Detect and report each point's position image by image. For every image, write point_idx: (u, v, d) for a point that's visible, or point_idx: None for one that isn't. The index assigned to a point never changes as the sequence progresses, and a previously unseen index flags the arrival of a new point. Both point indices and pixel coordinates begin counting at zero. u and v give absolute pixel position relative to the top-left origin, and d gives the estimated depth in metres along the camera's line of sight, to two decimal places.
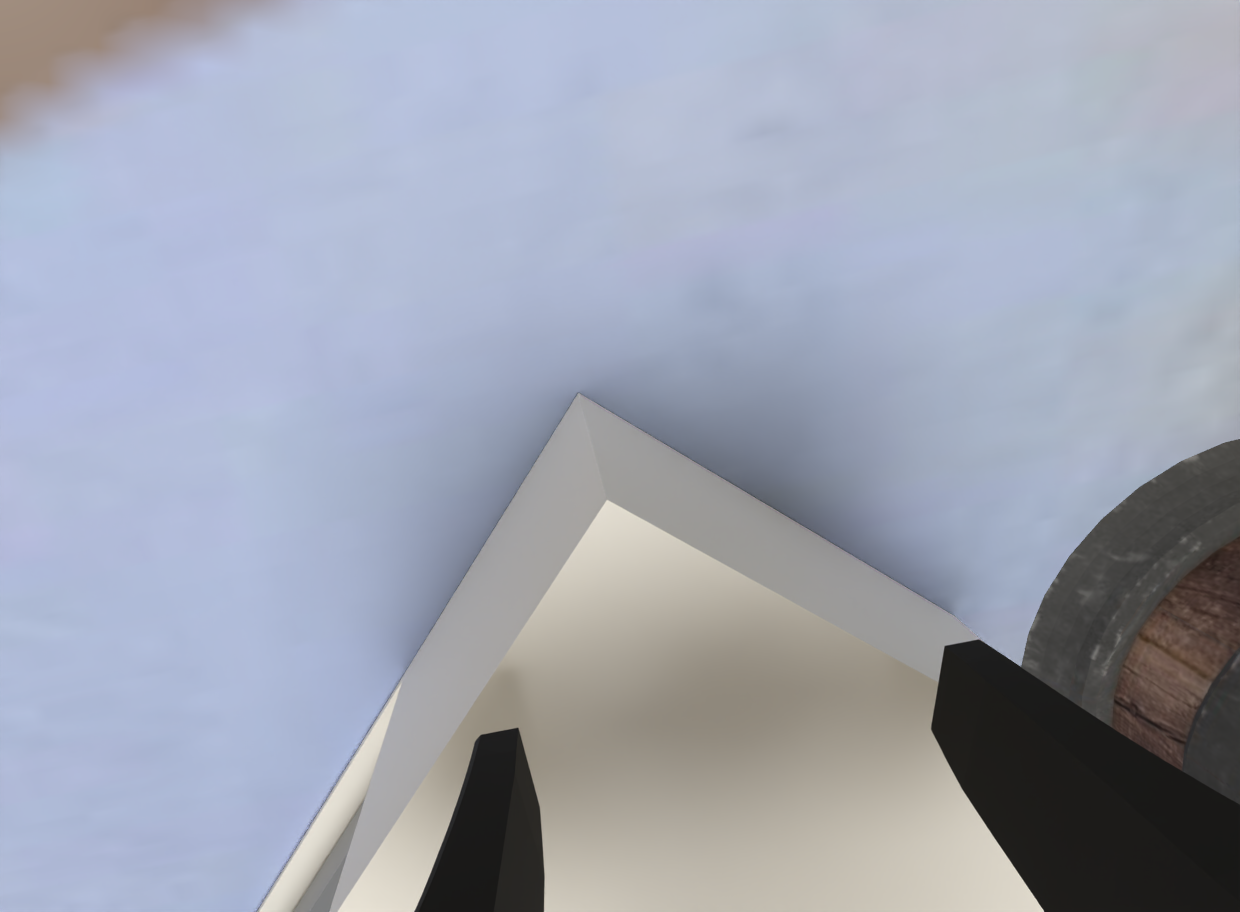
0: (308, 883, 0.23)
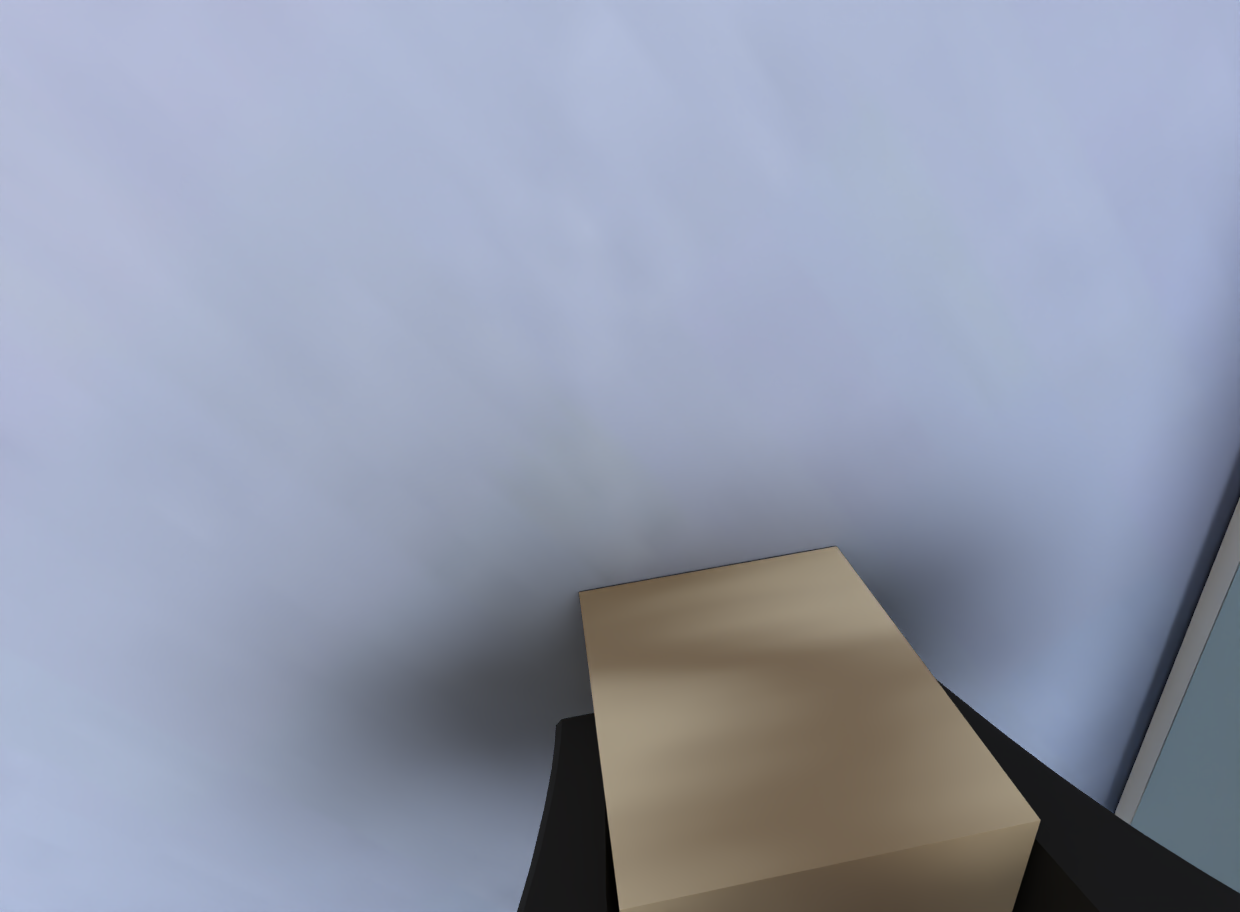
0: None
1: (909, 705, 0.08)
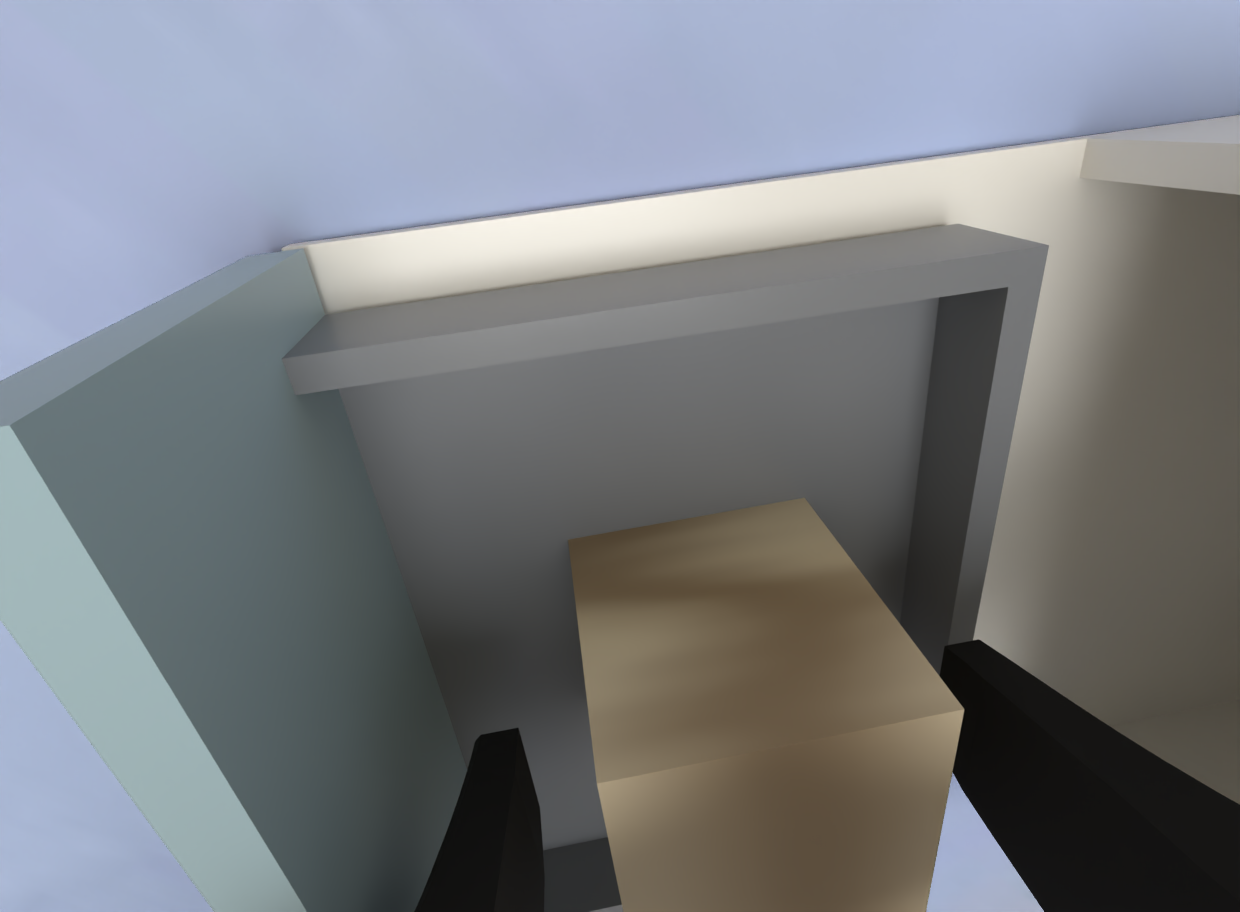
0: (544, 277, 0.11)
1: (859, 624, 0.09)
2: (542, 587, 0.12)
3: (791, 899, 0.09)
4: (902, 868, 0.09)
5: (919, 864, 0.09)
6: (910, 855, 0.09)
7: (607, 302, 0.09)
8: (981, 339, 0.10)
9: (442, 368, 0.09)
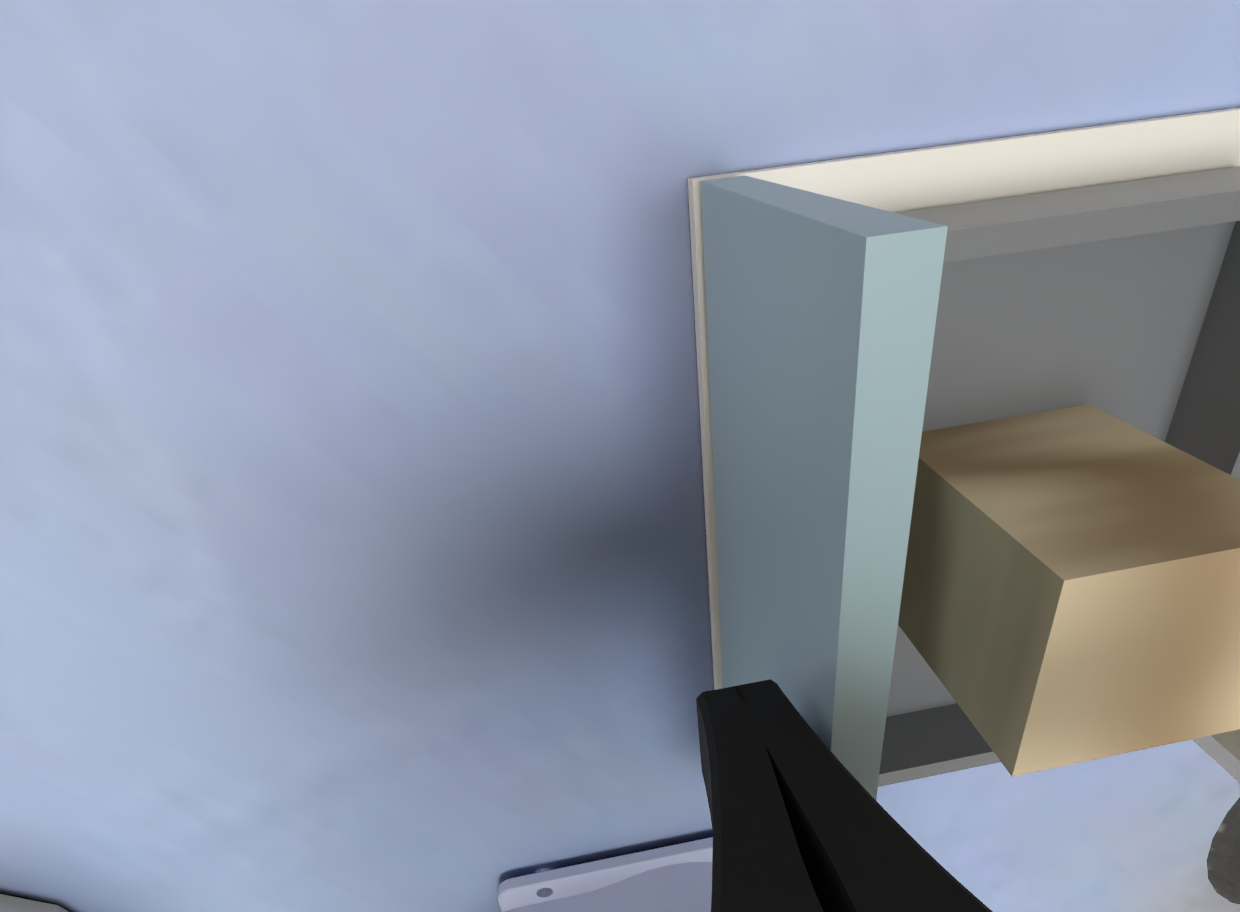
0: (888, 209, 0.13)
1: (1206, 482, 0.11)
2: None
3: (1151, 706, 0.11)
4: None
5: None
6: None
7: (1019, 215, 0.11)
8: None
9: None
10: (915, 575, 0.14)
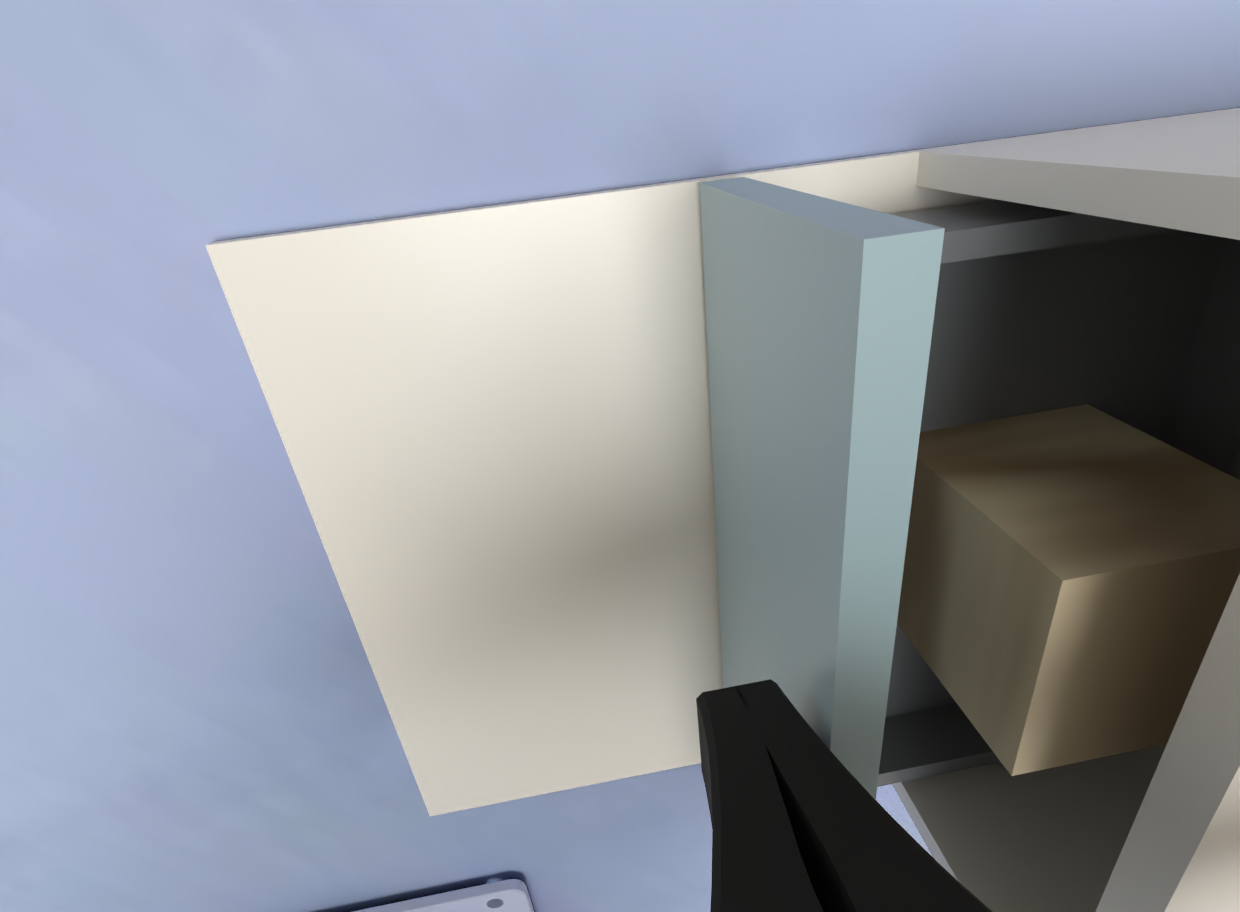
0: (441, 272, 0.12)
1: (1205, 482, 0.11)
2: None
3: (1150, 705, 0.11)
4: None
5: None
6: None
7: (1017, 216, 0.11)
8: None
9: None
10: (914, 575, 0.14)
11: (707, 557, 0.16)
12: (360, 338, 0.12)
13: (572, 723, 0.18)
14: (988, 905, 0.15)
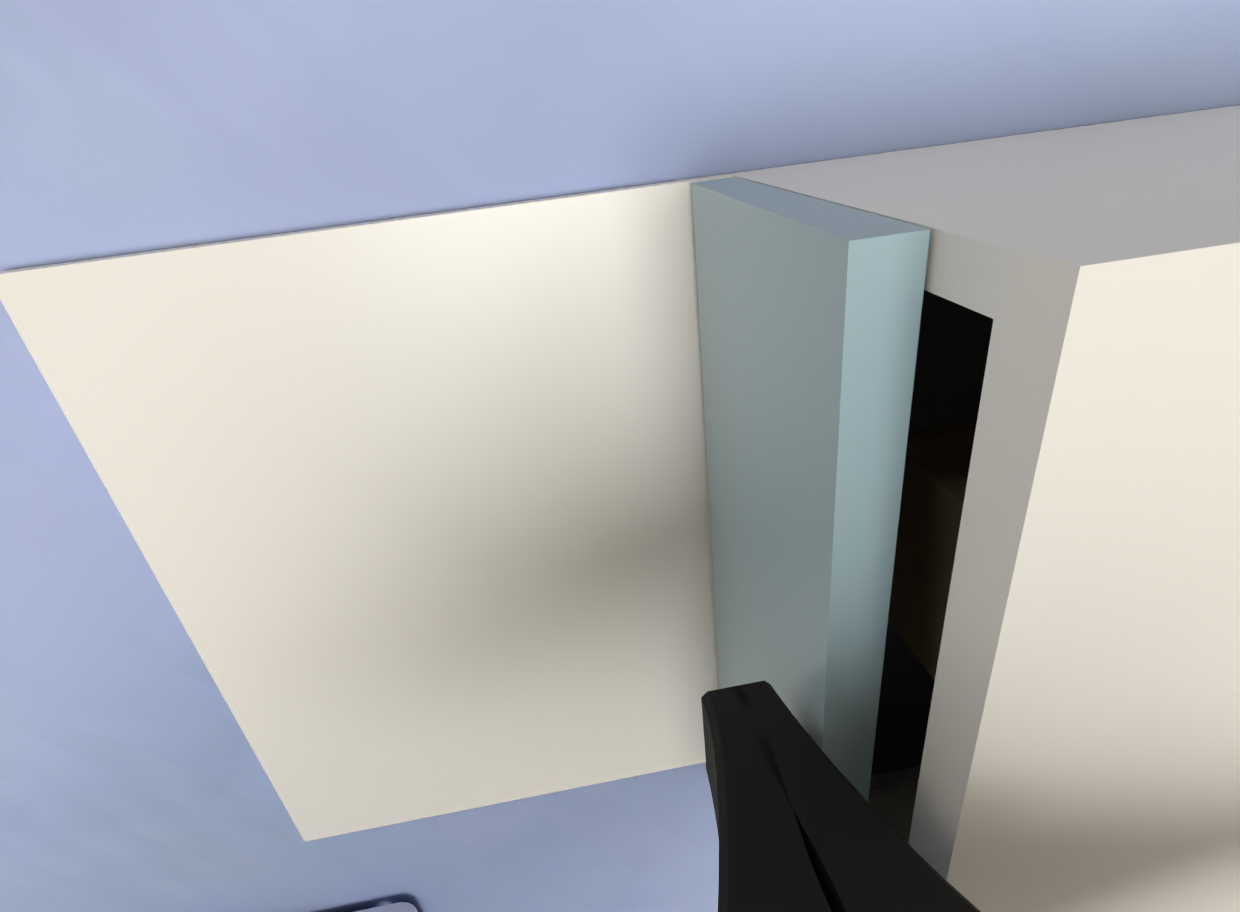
0: (241, 300, 0.12)
1: None
2: None
3: None
4: None
5: None
6: None
7: None
8: None
9: None
10: (909, 576, 0.14)
11: (562, 582, 0.16)
12: (165, 367, 0.12)
13: (441, 748, 0.18)
14: None
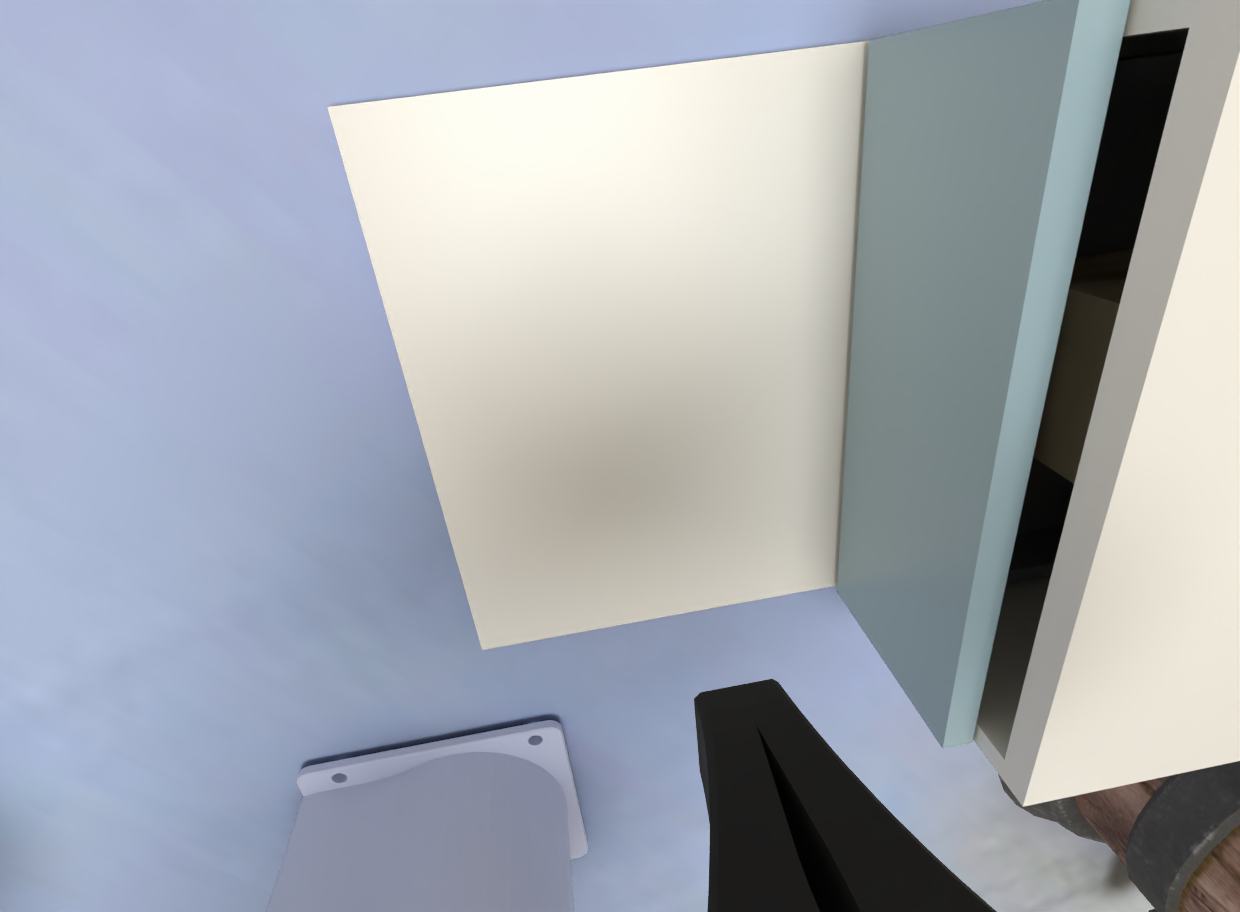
0: (512, 134, 0.15)
1: None
2: None
3: None
4: None
5: None
6: None
7: None
8: None
9: None
10: None
11: (724, 404, 0.19)
12: (445, 191, 0.15)
13: (606, 562, 0.21)
14: None
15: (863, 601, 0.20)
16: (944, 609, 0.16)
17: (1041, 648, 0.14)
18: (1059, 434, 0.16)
